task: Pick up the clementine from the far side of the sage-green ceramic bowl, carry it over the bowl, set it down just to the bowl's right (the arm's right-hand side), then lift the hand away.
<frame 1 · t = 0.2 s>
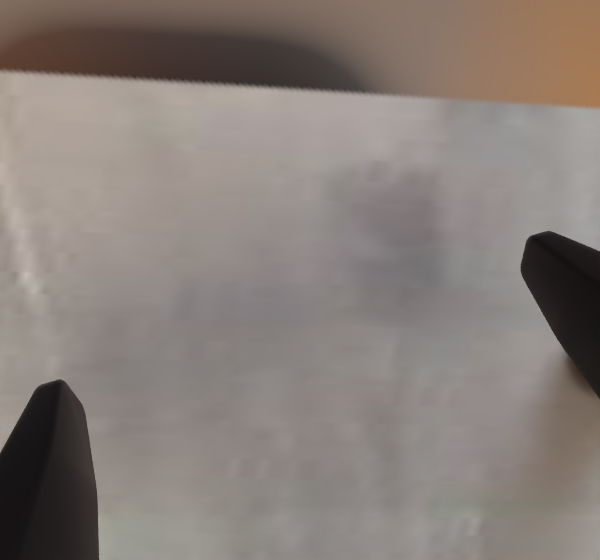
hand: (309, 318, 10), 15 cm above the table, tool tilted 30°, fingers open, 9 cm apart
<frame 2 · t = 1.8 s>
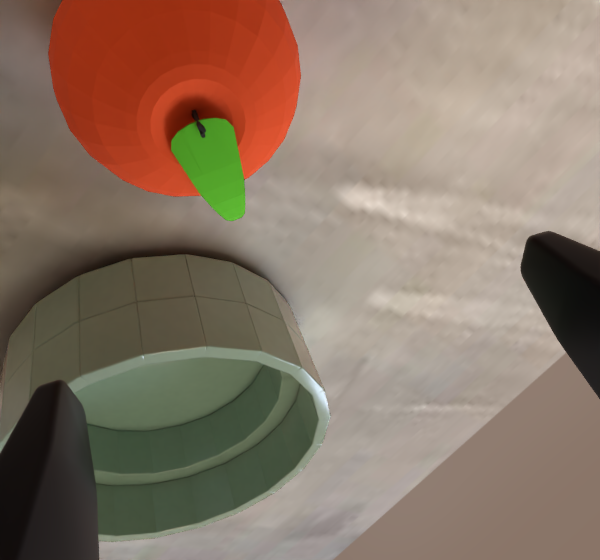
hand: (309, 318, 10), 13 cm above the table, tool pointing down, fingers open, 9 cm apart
bowl: (160, 357, 28), on the table
clementine: (171, 48, 19), on the table
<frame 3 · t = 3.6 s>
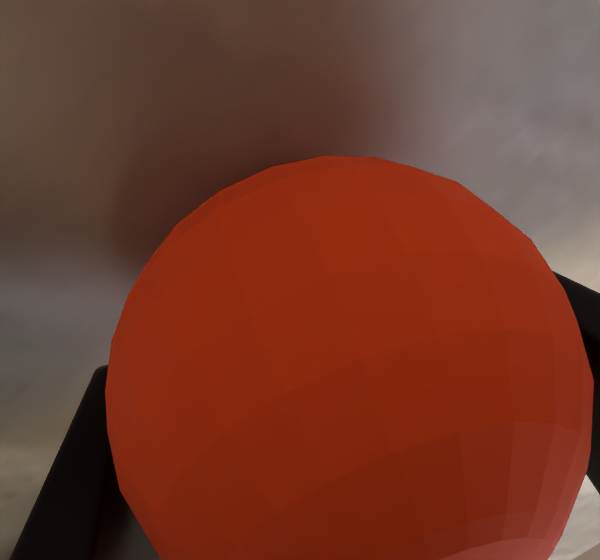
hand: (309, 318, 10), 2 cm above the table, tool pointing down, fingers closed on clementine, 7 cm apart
clementine: (285, 258, 11), on the table, touching gripper
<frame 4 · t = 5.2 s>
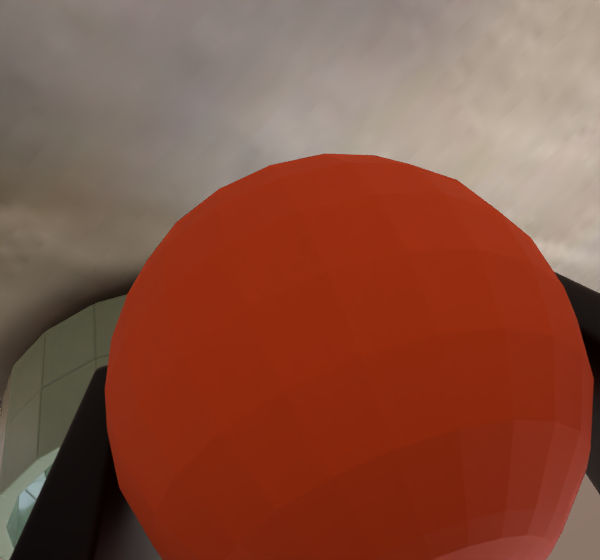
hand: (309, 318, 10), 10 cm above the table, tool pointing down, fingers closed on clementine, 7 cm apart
bowl: (173, 387, 26), on the table
clementine: (285, 257, 11), point 8 cm above the table, touching gripper
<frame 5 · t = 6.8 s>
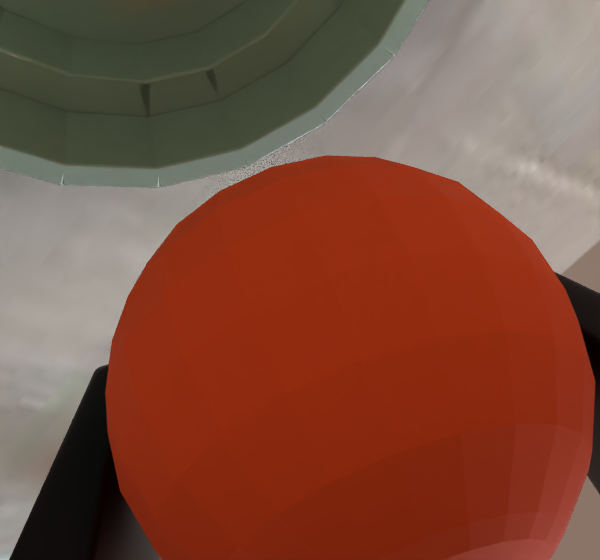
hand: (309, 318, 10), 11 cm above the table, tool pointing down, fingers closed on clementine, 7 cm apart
clementine: (286, 258, 11), point 10 cm above the table, touching gripper
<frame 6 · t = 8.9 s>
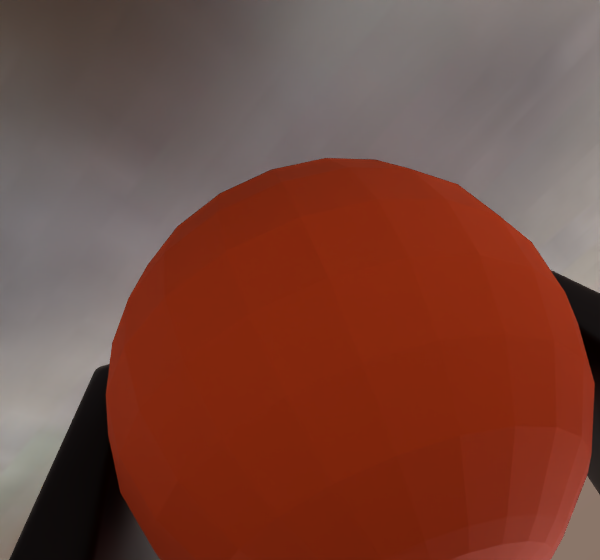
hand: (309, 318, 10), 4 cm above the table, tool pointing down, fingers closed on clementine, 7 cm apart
clementine: (286, 260, 11), point 2 cm above the table, touching gripper
when the fingers open (1 cm above the table, at t = 10.2 s): clementine stays where it is, on the table.
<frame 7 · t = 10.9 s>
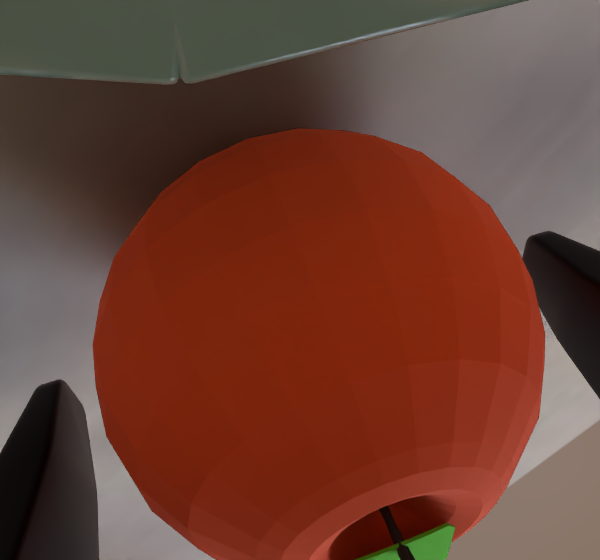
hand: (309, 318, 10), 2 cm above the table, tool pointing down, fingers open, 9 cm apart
clementine: (269, 235, 12), on the table
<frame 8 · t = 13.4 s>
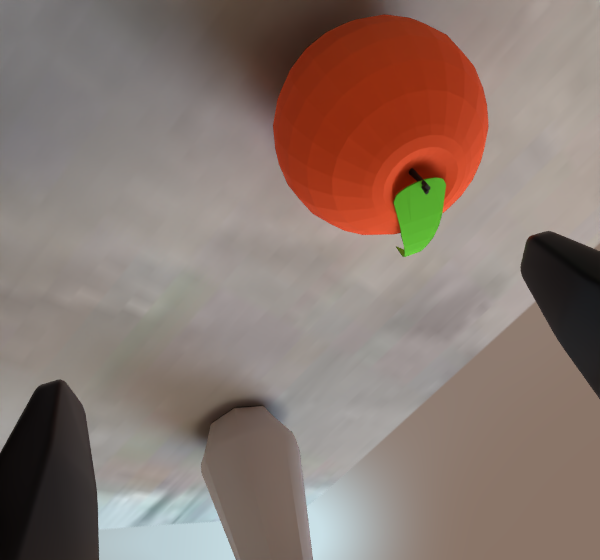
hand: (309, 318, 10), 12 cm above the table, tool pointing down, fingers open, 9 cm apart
clementine: (342, 98, 21), on the table
salt shaker: (241, 422, 34), on the table
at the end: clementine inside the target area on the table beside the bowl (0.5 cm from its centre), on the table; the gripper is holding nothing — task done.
